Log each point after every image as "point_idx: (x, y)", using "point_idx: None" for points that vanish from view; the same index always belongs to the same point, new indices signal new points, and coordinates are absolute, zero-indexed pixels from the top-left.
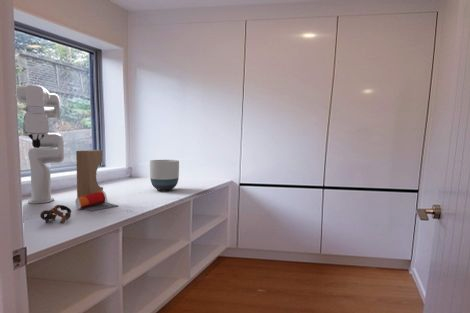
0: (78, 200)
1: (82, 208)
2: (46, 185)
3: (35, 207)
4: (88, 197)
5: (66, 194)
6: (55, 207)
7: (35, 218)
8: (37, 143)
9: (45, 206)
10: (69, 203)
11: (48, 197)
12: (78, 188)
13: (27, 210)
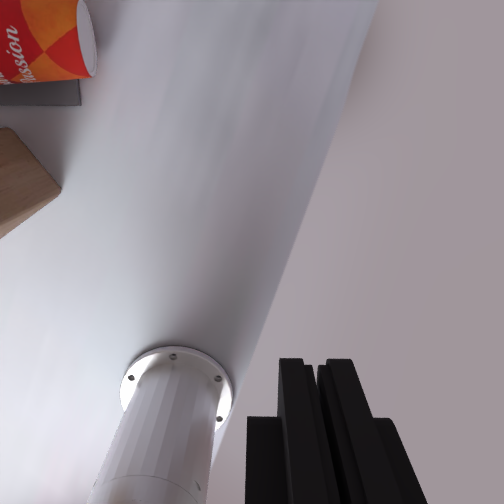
0: (78, 28)
1: None
2: (143, 420)
3: (245, 278)
4: (6, 1)
5: (33, 469)
6: None
7: (341, 10)
8: (324, 437)
9: (203, 266)
10: (87, 248)
11: (150, 374)
12: (3, 206)
13: (295, 238)
